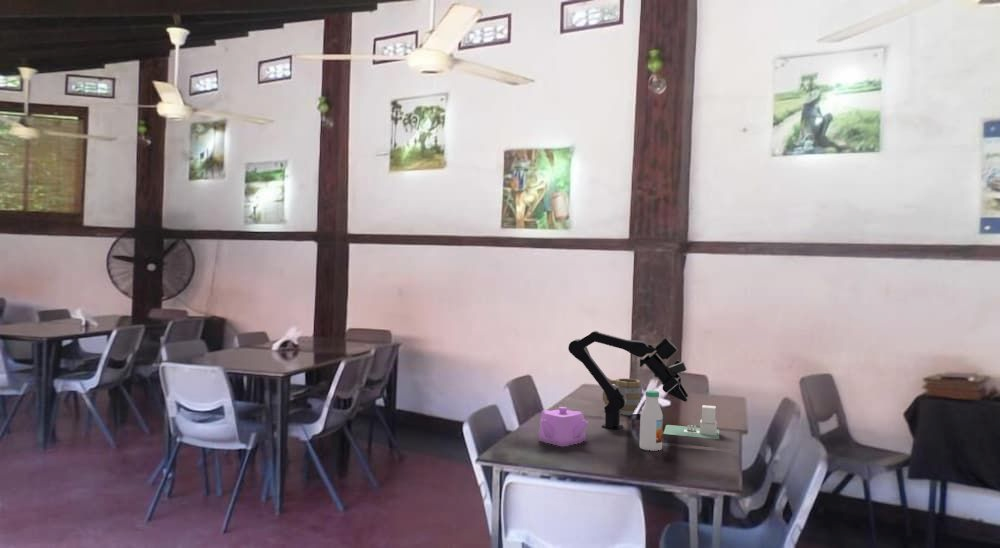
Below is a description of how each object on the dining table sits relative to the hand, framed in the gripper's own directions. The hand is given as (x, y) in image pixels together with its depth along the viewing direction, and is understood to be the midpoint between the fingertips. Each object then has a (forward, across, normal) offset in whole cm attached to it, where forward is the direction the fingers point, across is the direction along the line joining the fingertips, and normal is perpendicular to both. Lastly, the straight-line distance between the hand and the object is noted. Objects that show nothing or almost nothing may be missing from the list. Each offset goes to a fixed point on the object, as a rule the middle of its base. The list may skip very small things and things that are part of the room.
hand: (686, 398), depth 264 cm
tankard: (-11, +32, +30) cm, 46 cm away
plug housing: (+14, -1, +3) cm, 15 cm away
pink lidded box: (-19, -30, +39) cm, 53 cm away
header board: (+11, 0, +8) cm, 14 cm away
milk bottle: (+2, -27, +17) cm, 32 cm away
